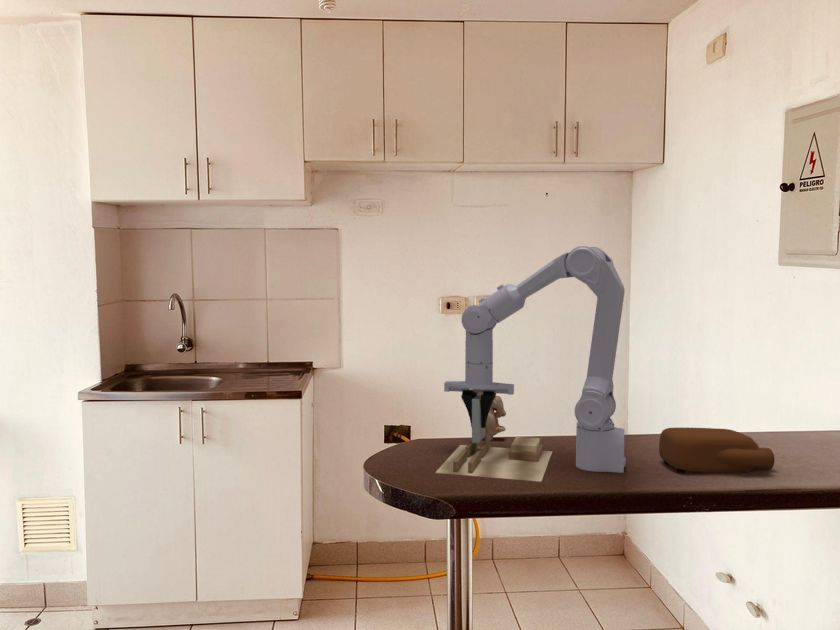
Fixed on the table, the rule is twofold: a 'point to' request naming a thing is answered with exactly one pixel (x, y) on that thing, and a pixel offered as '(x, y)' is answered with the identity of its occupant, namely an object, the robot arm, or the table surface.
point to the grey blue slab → (477, 420)
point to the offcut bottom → (525, 455)
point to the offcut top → (525, 445)
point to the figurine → (494, 417)
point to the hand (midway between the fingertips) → (478, 426)
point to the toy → (712, 451)
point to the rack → (493, 463)
